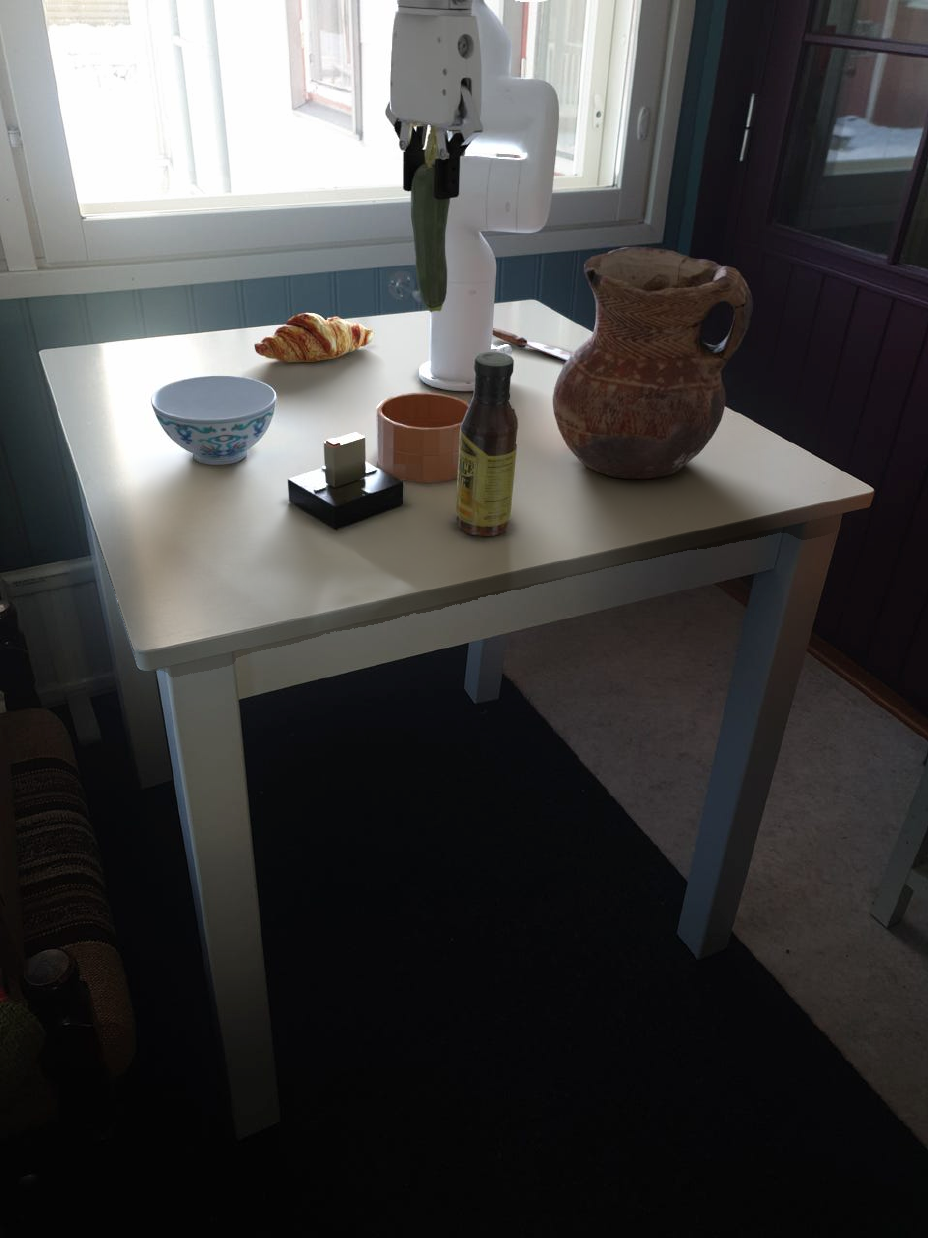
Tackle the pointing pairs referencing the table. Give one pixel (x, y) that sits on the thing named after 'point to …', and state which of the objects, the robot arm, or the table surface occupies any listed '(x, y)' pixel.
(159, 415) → the chinaware
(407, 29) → the robot arm
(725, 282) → the jug
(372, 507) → the panel
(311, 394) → the table surface
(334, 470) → the hob knob
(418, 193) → the vegetable
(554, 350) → the kitchen knife
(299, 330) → the croissant
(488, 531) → the sauce bottle
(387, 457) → the terracotta pot
